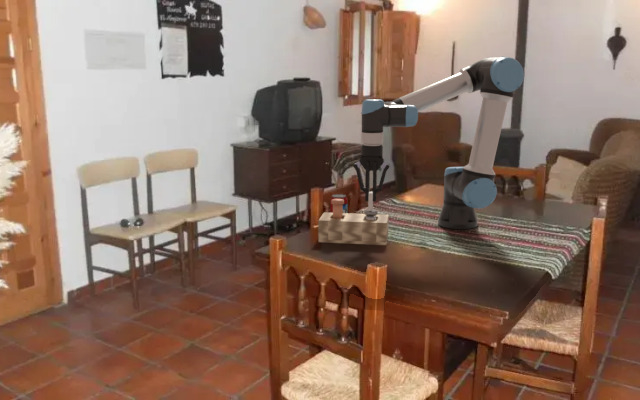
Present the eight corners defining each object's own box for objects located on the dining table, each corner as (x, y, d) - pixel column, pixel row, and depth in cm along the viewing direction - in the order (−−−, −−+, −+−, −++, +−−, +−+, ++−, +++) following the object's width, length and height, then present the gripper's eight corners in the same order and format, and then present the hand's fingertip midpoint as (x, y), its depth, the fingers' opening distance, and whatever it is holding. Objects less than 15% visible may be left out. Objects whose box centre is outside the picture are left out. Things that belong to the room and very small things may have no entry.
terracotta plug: (344, 220, 221) (344, 198, 219) (343, 224, 216) (343, 201, 214) (332, 220, 221) (332, 198, 220) (330, 223, 217) (330, 201, 215)
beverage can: (346, 227, 234) (346, 197, 231) (328, 227, 235) (328, 196, 232) (348, 223, 240) (348, 193, 238) (332, 222, 242) (332, 193, 239)
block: (388, 235, 223) (388, 214, 221) (386, 245, 211) (386, 223, 210) (323, 233, 227) (323, 212, 225) (318, 242, 215) (318, 220, 214)
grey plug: (377, 231, 219) (377, 209, 218) (376, 234, 215) (376, 212, 213) (364, 230, 220) (365, 209, 218) (363, 234, 216) (363, 212, 214)
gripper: (391, 143, 213) (389, 208, 218) (354, 142, 215) (353, 207, 220) (390, 146, 206) (388, 213, 211) (352, 145, 208) (351, 211, 213)
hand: (370, 210), depth 216 cm, fingers closed
